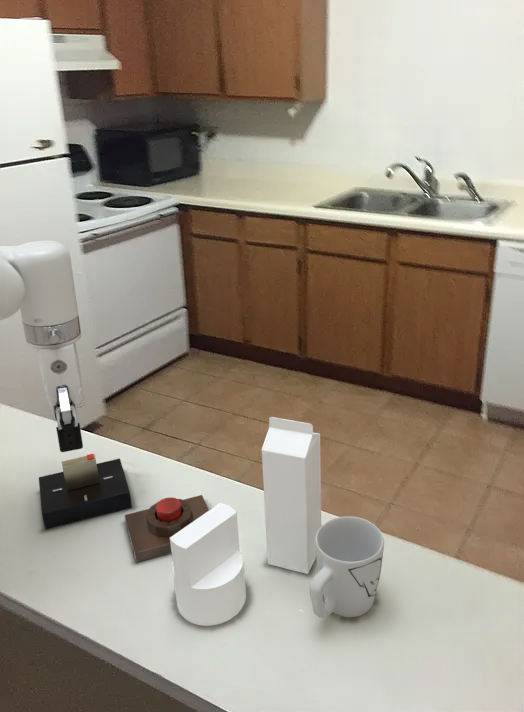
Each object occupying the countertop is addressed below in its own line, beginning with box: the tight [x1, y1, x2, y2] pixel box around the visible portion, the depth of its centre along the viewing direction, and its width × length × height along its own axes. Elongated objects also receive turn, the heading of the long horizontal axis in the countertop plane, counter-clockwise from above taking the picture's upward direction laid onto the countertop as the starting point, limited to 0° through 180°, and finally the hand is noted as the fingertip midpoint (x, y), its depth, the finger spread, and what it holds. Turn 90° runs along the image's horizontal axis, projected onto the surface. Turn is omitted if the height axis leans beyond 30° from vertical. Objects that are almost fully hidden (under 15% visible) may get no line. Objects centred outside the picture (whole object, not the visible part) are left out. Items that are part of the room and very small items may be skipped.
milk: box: [261, 416, 322, 575], centre depth 89 cm, size 6×6×22 cm
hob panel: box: [38, 458, 133, 531], centre depth 106 cm, size 13×10×3 cm
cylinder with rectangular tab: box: [170, 502, 247, 627], centre depth 85 cm, size 9×9×12 cm
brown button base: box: [124, 494, 210, 563], centre depth 99 cm, size 12×9×4 cm
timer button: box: [155, 497, 182, 522], centre depth 98 cm, size 4×4×2 cm
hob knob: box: [61, 453, 100, 491], centre depth 105 cm, size 5×2×5 cm, turn 112°
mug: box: [309, 515, 385, 620], centre depth 83 cm, size 11×8×10 cm
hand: (68, 433), depth 101 cm, fingers open, 9 cm apart
